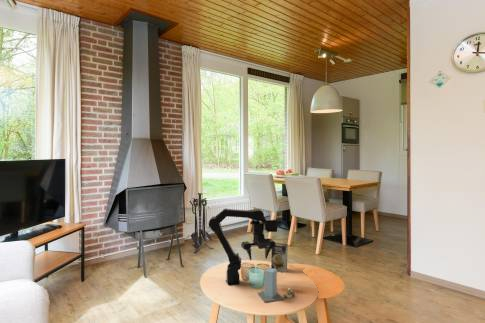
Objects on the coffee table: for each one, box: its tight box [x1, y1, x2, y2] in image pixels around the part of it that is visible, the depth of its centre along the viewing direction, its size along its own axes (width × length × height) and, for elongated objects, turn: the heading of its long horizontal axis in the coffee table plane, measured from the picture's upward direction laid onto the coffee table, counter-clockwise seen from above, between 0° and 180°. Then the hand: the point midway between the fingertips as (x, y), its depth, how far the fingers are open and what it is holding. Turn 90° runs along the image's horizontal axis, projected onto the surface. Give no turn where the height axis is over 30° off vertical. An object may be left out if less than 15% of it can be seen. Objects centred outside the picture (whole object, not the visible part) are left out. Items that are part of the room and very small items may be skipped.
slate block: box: [263, 267, 278, 298], centre depth 152 cm, size 5×5×13 cm
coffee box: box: [270, 242, 288, 273], centre depth 189 cm, size 9×6×16 cm
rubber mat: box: [257, 291, 285, 303], centre depth 153 cm, size 10×10×1 cm
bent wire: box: [283, 287, 295, 299], centre depth 154 cm, size 6×5×3 cm
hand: (258, 259), depth 170 cm, fingers open, 9 cm apart
